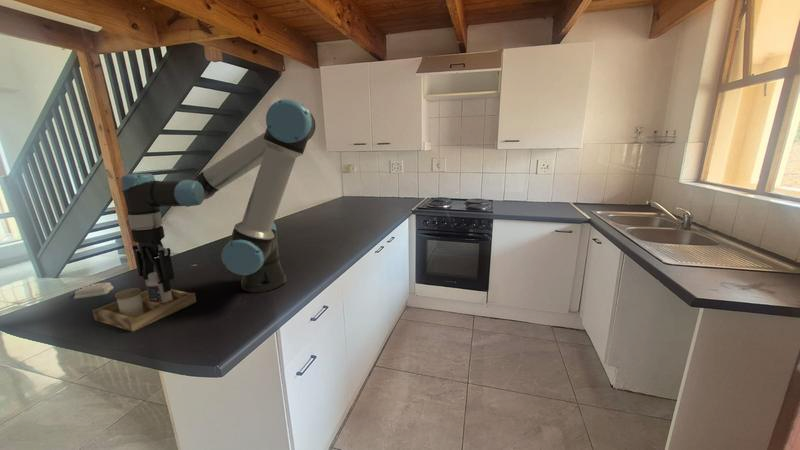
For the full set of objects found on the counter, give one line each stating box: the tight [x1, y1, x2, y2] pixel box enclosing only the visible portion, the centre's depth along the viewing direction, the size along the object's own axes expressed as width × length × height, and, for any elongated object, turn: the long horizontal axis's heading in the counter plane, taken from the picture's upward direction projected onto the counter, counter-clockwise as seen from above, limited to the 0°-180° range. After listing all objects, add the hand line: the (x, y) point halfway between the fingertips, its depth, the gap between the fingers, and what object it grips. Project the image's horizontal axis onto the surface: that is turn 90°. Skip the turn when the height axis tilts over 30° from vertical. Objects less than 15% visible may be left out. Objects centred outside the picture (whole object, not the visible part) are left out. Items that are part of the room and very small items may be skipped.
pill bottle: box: [146, 271, 162, 303], centre depth 97 cm, size 5×5×9 cm
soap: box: [73, 282, 114, 300], centre depth 109 cm, size 9×7×3 cm
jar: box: [114, 287, 145, 318], centre depth 90 cm, size 6×6×8 cm
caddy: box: [91, 288, 197, 332], centre depth 95 cm, size 17×18×4 cm
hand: (160, 299), depth 98 cm, fingers closed on pill bottle, 5 cm apart
